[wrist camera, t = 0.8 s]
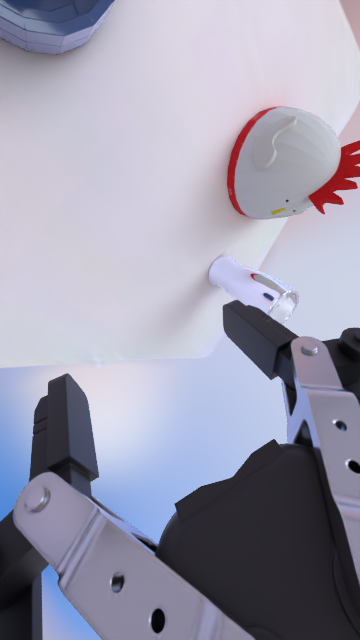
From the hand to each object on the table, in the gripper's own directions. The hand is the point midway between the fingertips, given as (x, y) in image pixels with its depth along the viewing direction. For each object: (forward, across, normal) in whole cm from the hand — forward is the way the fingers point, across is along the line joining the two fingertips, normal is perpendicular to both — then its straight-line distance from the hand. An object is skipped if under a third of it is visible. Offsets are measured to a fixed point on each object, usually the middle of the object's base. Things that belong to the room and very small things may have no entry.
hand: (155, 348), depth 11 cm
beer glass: (+25, -20, +13) cm, 35 cm away
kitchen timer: (+25, -28, -2) cm, 38 cm away
